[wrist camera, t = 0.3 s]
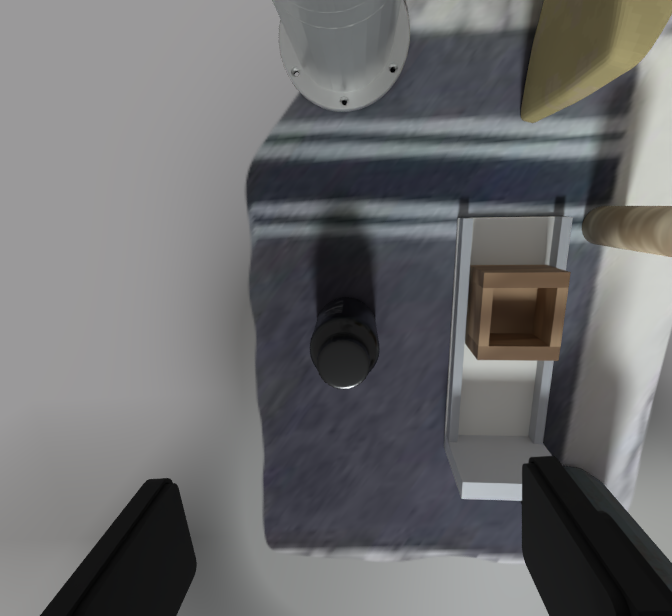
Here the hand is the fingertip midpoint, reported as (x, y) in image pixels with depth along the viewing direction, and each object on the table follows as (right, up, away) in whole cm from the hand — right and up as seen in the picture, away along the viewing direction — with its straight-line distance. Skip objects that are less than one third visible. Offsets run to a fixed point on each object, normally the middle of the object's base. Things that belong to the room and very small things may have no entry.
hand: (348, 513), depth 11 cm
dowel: (+28, +14, +31) cm, 44 cm away
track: (+18, +2, +35) cm, 39 cm away
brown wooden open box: (+18, +6, +33) cm, 38 cm away
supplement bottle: (+1, +4, +36) cm, 36 cm away
